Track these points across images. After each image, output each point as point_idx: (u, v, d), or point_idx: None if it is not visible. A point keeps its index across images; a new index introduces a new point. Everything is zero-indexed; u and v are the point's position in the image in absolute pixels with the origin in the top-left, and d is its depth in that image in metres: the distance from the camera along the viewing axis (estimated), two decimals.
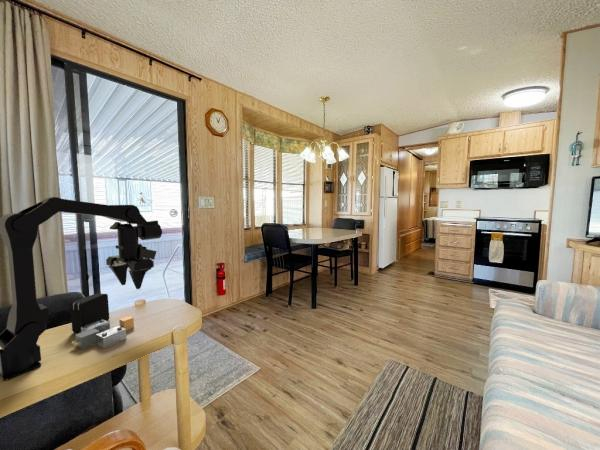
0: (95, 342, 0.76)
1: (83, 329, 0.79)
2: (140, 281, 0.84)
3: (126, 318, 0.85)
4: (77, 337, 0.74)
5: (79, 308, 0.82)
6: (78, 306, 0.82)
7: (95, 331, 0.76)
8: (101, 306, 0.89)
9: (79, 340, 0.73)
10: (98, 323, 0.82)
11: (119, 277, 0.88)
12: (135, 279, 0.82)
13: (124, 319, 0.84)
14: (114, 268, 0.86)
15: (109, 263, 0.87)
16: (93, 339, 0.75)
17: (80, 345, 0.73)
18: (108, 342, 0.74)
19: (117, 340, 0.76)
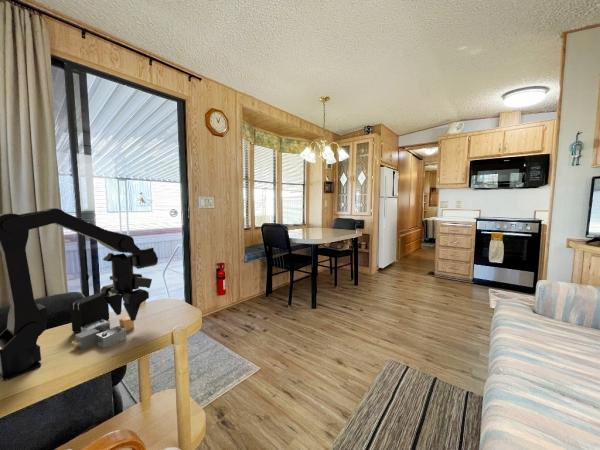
0: (95, 342, 0.76)
1: (83, 329, 0.79)
2: (135, 313, 0.82)
3: (126, 318, 0.85)
4: (77, 337, 0.74)
5: (79, 308, 0.82)
6: (78, 306, 0.82)
7: (95, 331, 0.76)
8: (101, 306, 0.89)
9: (79, 340, 0.73)
10: (98, 323, 0.82)
11: (114, 307, 0.86)
12: (130, 311, 0.80)
13: (124, 319, 0.84)
14: (109, 298, 0.85)
15: (103, 293, 0.85)
16: (93, 339, 0.75)
17: (80, 345, 0.73)
18: (108, 342, 0.74)
19: (117, 340, 0.76)
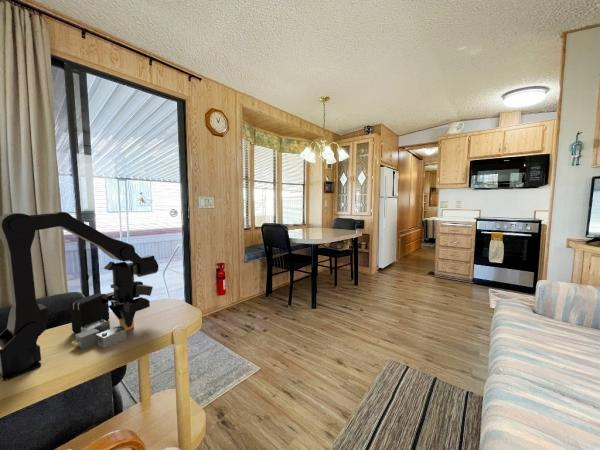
0: (95, 342, 0.76)
1: (83, 329, 0.79)
2: (131, 319, 0.84)
3: None
4: (77, 337, 0.74)
5: (79, 308, 0.82)
6: (78, 306, 0.82)
7: (95, 331, 0.76)
8: (101, 306, 0.89)
9: (79, 340, 0.73)
10: (98, 323, 0.82)
11: (119, 317, 0.85)
12: (126, 318, 0.82)
13: None
14: (114, 308, 0.83)
15: (104, 301, 0.85)
16: (93, 339, 0.75)
17: (80, 345, 0.73)
18: (108, 342, 0.74)
19: (117, 340, 0.76)
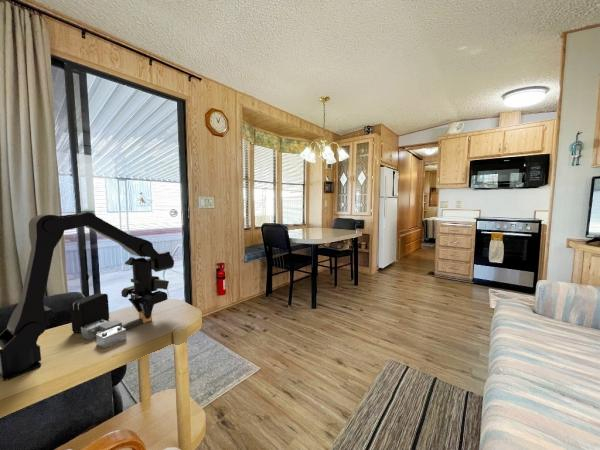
0: None
1: (83, 329, 0.79)
2: (150, 311, 0.89)
3: None
4: (102, 328, 0.79)
5: (79, 308, 0.82)
6: (78, 306, 0.82)
7: (118, 322, 0.82)
8: (101, 306, 0.89)
9: None
10: (98, 323, 0.82)
11: (139, 309, 0.90)
12: (145, 310, 0.88)
13: None
14: (134, 301, 0.89)
15: (124, 295, 0.90)
16: None
17: None
18: (108, 342, 0.74)
19: (117, 340, 0.76)
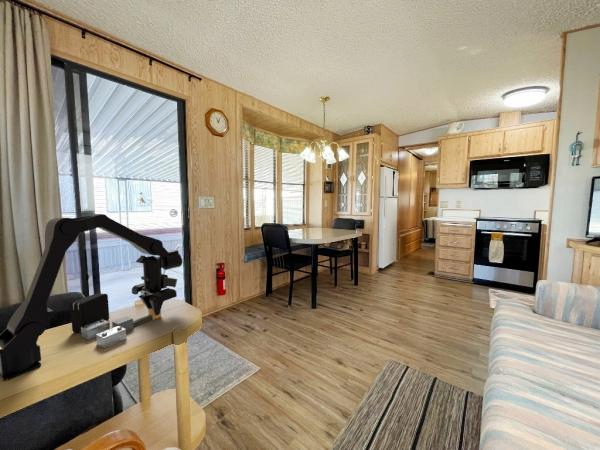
0: (129, 328, 0.84)
1: (83, 329, 0.79)
2: (159, 308, 0.92)
3: None
4: (114, 323, 0.82)
5: (79, 308, 0.82)
6: (78, 306, 0.82)
7: (129, 318, 0.85)
8: (101, 306, 0.89)
9: (116, 326, 0.82)
10: (98, 323, 0.82)
11: (148, 306, 0.93)
12: (155, 307, 0.91)
13: (152, 309, 0.92)
14: (144, 298, 0.92)
15: (135, 292, 0.93)
16: (128, 325, 0.84)
17: None
18: (108, 342, 0.74)
19: (117, 340, 0.76)
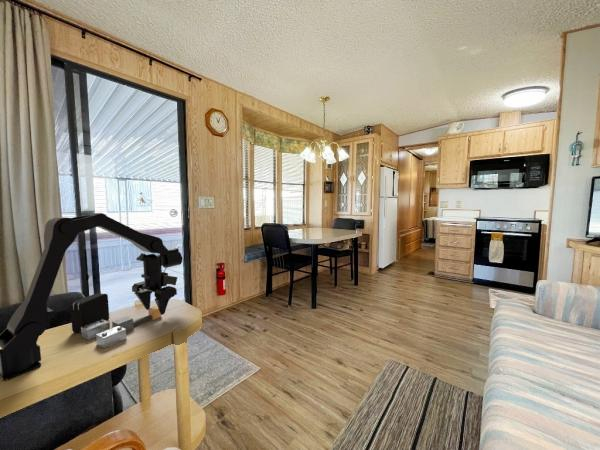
0: (129, 328, 0.84)
1: (83, 329, 0.79)
2: (164, 307, 0.91)
3: (154, 308, 0.93)
4: (114, 323, 0.82)
5: (79, 308, 0.82)
6: (78, 306, 0.82)
7: (129, 318, 0.85)
8: (101, 306, 0.89)
9: (116, 326, 0.82)
10: (98, 323, 0.82)
11: (144, 303, 0.94)
12: (160, 306, 0.89)
13: (152, 309, 0.92)
14: (139, 295, 0.93)
15: (135, 290, 0.93)
16: (128, 325, 0.84)
17: None
18: (108, 342, 0.74)
19: (117, 340, 0.76)
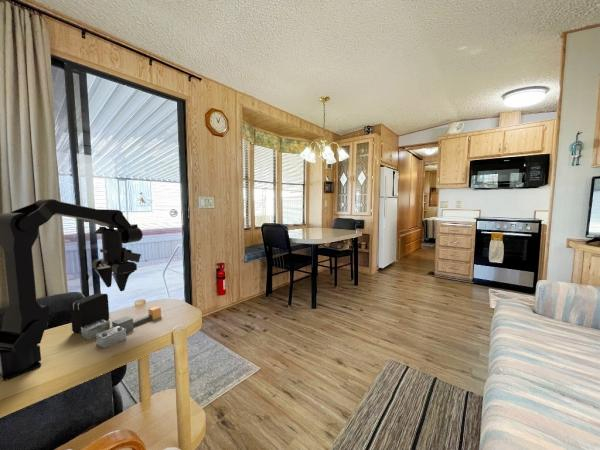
0: (129, 328, 0.84)
1: (83, 329, 0.79)
2: (124, 283, 0.87)
3: (154, 308, 0.93)
4: (114, 323, 0.82)
5: (79, 308, 0.82)
6: (78, 306, 0.82)
7: (129, 318, 0.85)
8: (101, 306, 0.89)
9: (116, 326, 0.82)
10: (98, 323, 0.82)
11: (104, 279, 0.91)
12: (118, 282, 0.85)
13: (152, 309, 0.92)
14: (99, 271, 0.90)
15: (94, 266, 0.90)
16: (128, 325, 0.84)
17: None
18: (108, 342, 0.74)
19: (117, 340, 0.76)
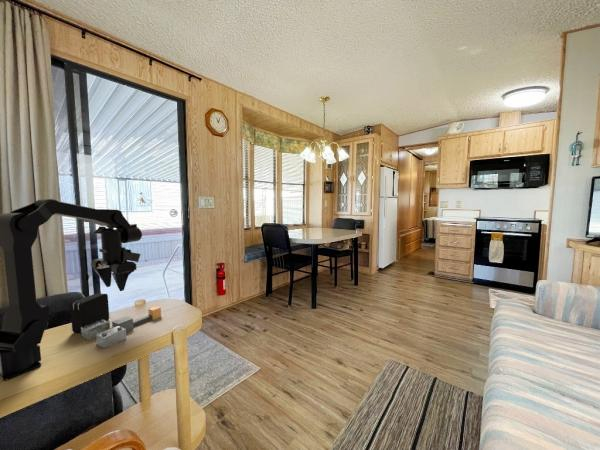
0: (129, 328, 0.84)
1: (83, 329, 0.79)
2: (123, 283, 0.87)
3: (154, 308, 0.93)
4: (114, 323, 0.82)
5: (79, 308, 0.82)
6: (78, 306, 0.82)
7: (129, 318, 0.85)
8: (101, 306, 0.89)
9: (116, 326, 0.82)
10: (98, 323, 0.82)
11: (104, 279, 0.91)
12: (118, 281, 0.85)
13: (152, 309, 0.92)
14: (99, 271, 0.90)
15: (94, 266, 0.90)
16: (128, 325, 0.84)
17: None
18: (108, 342, 0.74)
19: (117, 340, 0.76)
